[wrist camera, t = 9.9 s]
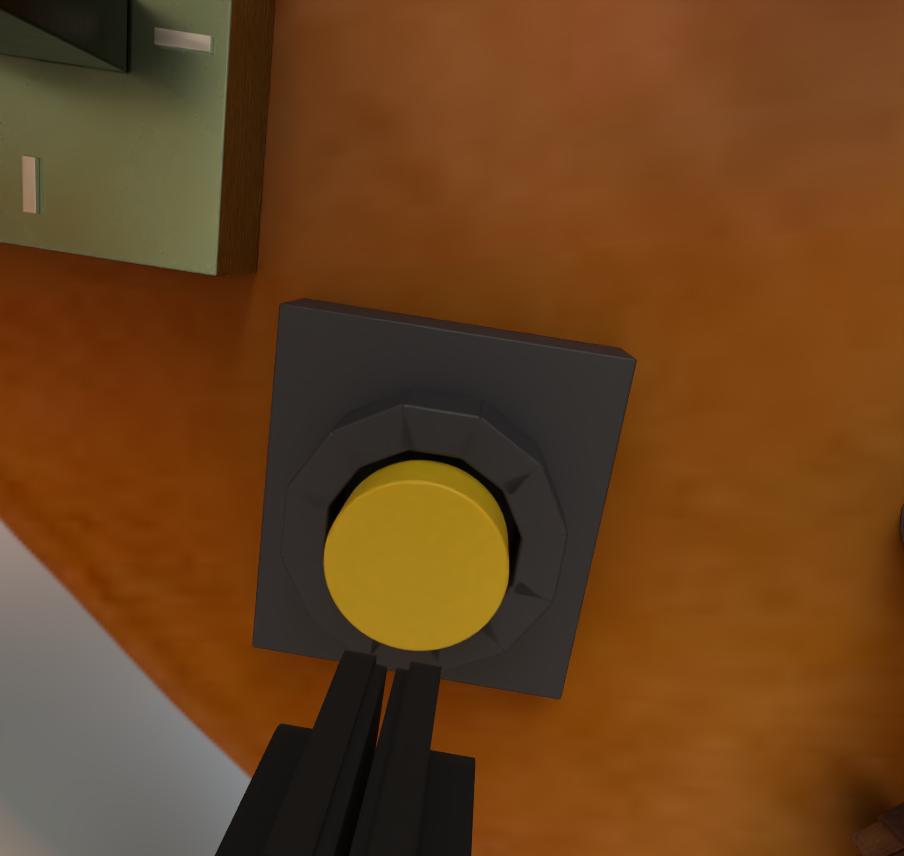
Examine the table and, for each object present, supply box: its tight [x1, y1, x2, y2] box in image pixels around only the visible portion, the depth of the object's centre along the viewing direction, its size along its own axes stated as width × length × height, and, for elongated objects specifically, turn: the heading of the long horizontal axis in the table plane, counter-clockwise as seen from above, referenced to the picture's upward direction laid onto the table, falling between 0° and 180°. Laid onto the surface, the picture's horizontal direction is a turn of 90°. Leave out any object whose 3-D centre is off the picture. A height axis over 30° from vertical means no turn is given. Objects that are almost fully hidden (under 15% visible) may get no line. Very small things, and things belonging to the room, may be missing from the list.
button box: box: [252, 298, 637, 699], centre depth 20 cm, size 11×10×4 cm
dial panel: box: [0, 0, 275, 276], centre depth 17 cm, size 11×10×3 cm
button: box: [323, 460, 509, 651], centre depth 17 cm, size 5×5×2 cm
